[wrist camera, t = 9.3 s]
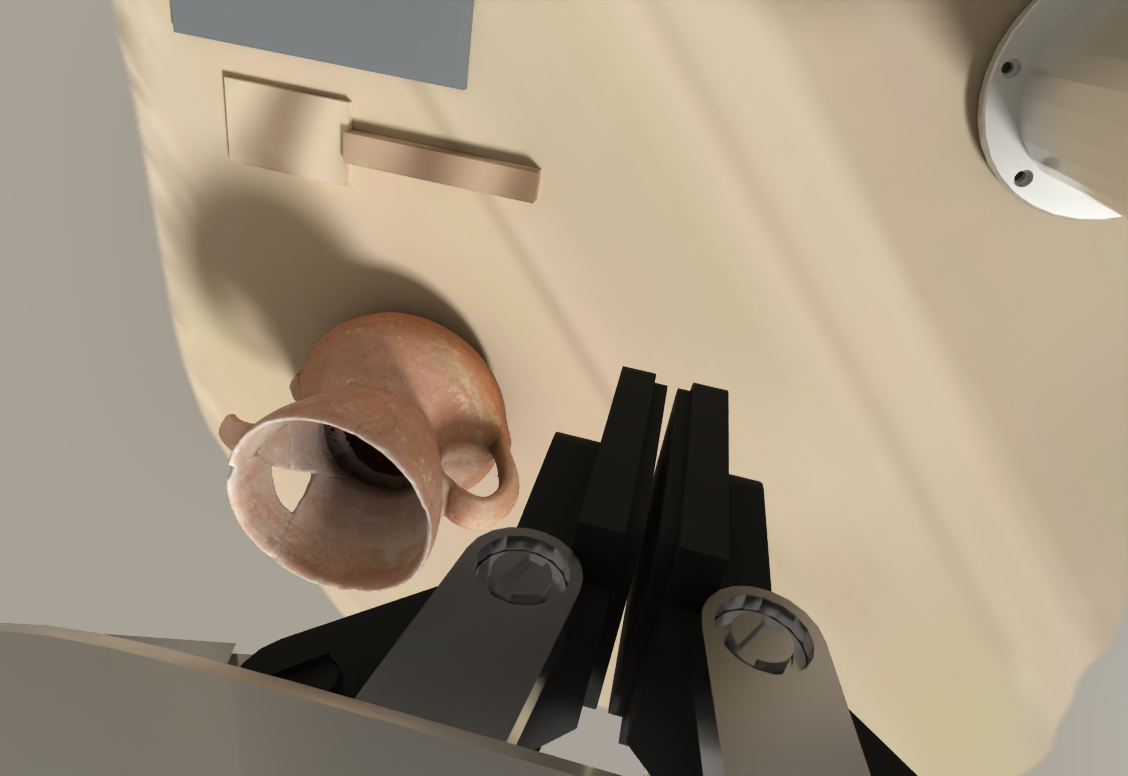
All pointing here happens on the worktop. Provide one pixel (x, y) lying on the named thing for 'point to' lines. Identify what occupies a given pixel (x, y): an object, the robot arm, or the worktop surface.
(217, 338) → the worktop surface
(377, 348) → the ceramic jug
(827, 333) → the worktop surface
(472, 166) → the turner
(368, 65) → the mat
